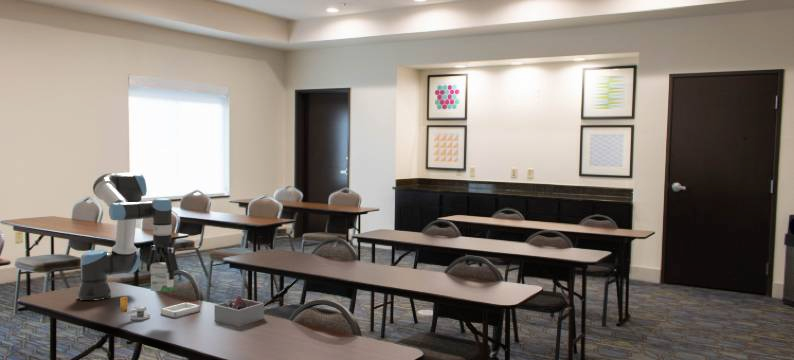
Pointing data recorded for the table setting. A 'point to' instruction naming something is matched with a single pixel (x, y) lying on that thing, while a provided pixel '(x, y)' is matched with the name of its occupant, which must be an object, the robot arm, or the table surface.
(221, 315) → the parts crate
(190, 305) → the tray
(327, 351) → the table surface
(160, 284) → the ink box
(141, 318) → the crank base
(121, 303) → the crank
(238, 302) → the brake caliper
